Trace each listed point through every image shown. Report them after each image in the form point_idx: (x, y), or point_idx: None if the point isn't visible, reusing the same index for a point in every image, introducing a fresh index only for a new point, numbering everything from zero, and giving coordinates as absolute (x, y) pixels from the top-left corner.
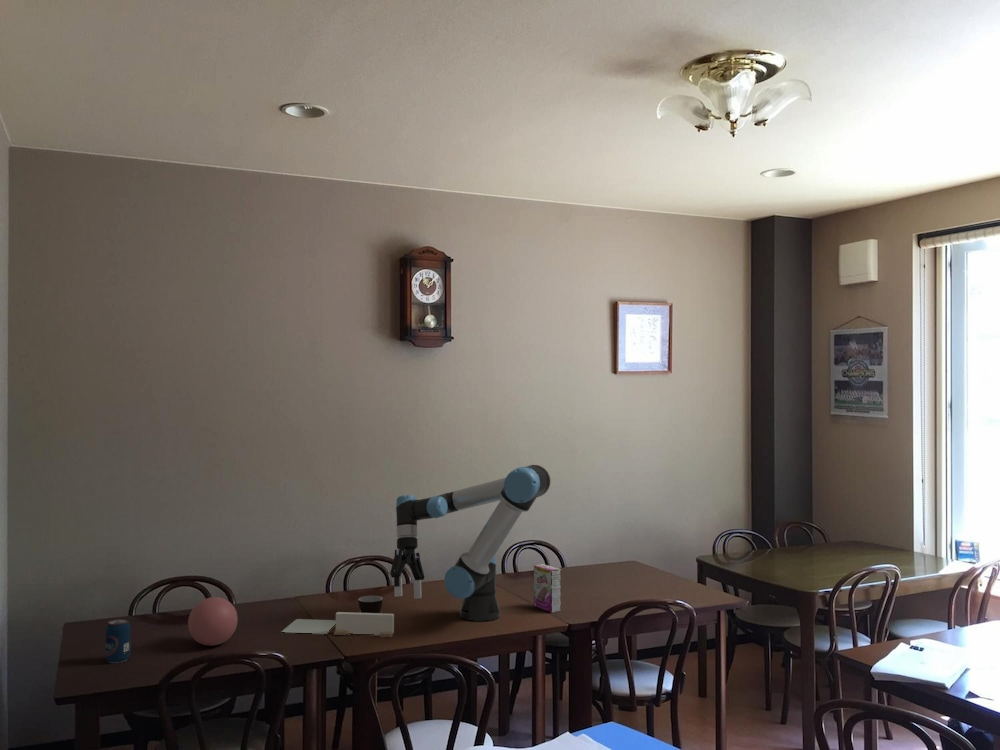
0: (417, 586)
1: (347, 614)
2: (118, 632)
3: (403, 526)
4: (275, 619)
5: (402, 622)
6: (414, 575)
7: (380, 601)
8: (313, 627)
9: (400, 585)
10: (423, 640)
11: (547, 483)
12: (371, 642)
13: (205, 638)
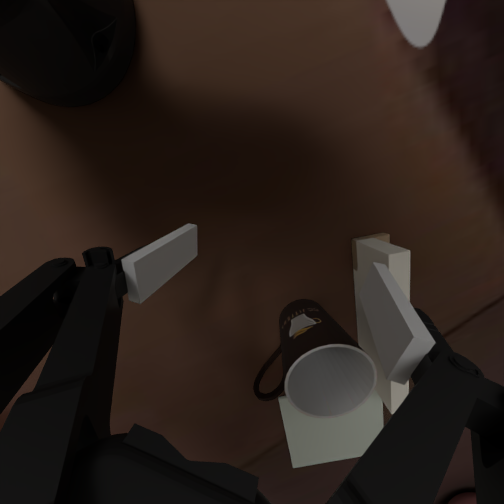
0: (163, 262)
1: (407, 382)
2: None
3: None
4: (298, 493)
5: (237, 261)
6: (117, 319)
7: (342, 341)
8: (344, 419)
9: (403, 300)
10: (395, 127)
11: None
12: (427, 263)
13: None
